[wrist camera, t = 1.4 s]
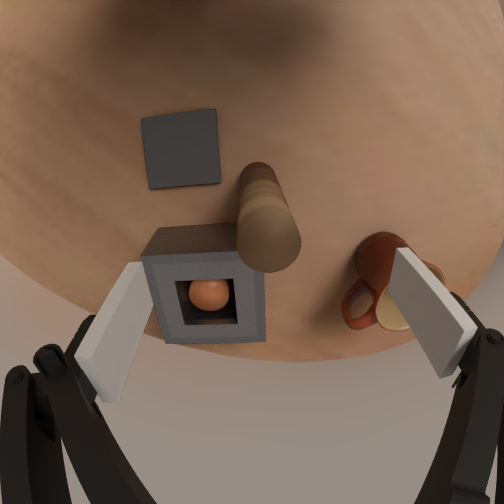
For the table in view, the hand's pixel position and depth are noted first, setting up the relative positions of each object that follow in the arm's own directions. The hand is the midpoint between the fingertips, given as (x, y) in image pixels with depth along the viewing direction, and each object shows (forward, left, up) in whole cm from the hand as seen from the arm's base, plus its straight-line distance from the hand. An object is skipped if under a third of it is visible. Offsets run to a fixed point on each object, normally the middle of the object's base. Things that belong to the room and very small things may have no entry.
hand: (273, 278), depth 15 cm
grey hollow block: (+11, -6, -19) cm, 23 cm away
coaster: (-4, -8, -19) cm, 21 cm away
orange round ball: (+11, -6, -17) cm, 21 cm away
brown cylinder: (0, 0, -19) cm, 19 cm away
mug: (+11, +14, -20) cm, 26 cm away
